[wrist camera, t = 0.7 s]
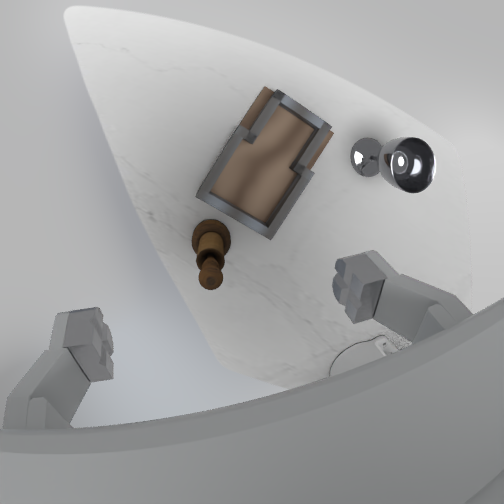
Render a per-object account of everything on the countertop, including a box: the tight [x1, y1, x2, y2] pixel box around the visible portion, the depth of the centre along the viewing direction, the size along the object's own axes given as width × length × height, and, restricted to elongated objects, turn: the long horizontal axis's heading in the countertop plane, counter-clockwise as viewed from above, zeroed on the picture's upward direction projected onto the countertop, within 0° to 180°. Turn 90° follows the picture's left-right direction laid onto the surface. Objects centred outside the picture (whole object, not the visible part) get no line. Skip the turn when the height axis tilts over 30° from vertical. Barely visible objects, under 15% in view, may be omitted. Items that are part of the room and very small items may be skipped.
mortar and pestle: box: [192, 220, 231, 290], centre depth 47 cm, size 7×6×18 cm
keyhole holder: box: [196, 87, 334, 240], centre depth 50 cm, size 14×21×4 cm, turn 148°
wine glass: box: [351, 137, 436, 193], centre depth 47 cm, size 8×8×15 cm
